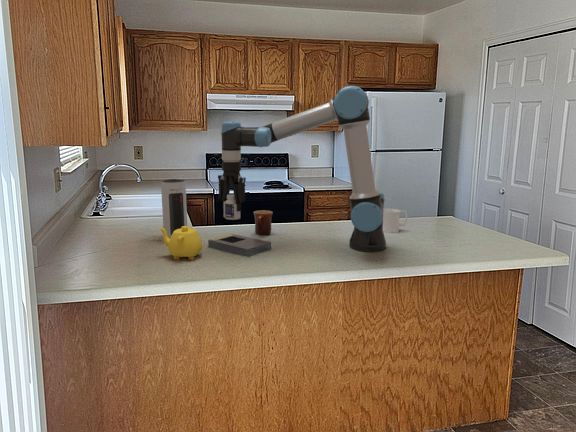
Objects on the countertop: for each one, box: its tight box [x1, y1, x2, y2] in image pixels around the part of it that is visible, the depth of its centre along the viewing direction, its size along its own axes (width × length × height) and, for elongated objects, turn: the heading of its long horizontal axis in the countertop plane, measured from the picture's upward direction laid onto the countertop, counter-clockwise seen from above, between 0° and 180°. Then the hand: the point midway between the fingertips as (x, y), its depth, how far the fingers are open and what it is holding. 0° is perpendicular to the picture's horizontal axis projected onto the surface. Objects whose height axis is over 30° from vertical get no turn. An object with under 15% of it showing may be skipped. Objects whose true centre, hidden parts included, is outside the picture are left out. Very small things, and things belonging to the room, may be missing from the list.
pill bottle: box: [224, 193, 236, 221], centre depth 198 cm, size 5×5×10 cm
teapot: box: [158, 225, 203, 261], centre depth 185 cm, size 14×14×12 cm
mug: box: [253, 209, 273, 236], centre depth 220 cm, size 12×9×10 cm
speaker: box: [160, 178, 188, 239], centre depth 210 cm, size 11×10×26 cm
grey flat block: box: [207, 233, 272, 258], centre depth 198 cm, size 22×14×3 cm, turn 51°
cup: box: [383, 208, 408, 234], centre depth 230 cm, size 8×12×10 cm
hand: (232, 217), depth 198 cm, fingers closed on pill bottle, 5 cm apart
